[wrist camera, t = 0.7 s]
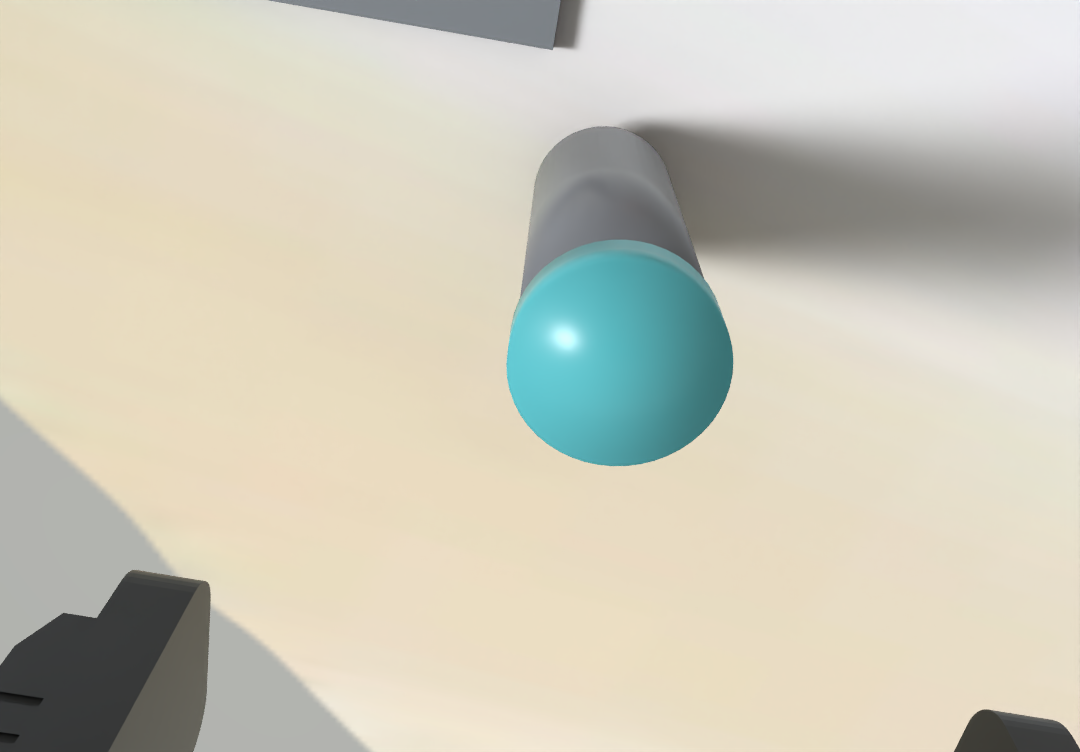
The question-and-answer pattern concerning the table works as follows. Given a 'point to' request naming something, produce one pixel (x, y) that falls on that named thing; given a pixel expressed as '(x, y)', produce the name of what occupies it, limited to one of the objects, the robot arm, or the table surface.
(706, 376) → the marker
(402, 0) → the grey tablet
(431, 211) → the table surface
